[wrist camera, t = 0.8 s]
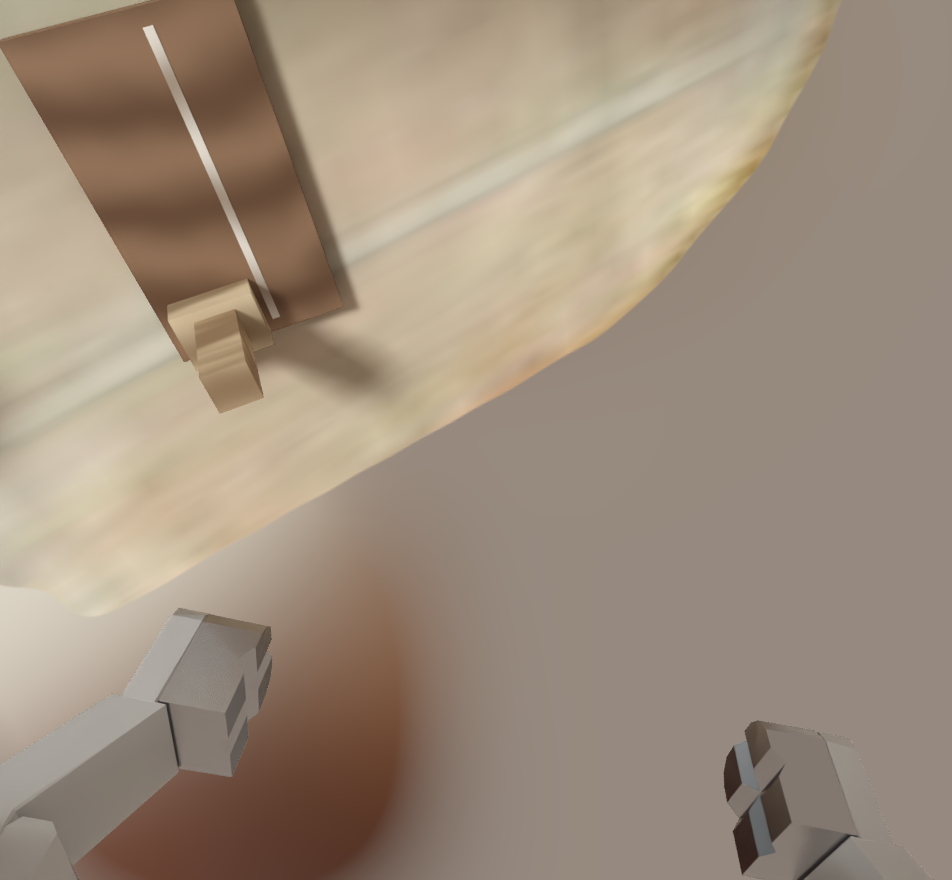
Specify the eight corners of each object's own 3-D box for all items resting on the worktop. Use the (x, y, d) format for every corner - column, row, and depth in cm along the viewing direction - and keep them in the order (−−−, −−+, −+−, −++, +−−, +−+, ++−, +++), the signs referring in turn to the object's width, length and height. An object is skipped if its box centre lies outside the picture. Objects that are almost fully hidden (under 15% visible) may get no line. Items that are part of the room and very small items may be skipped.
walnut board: (2, 39, 38) (-3, 43, 36) (225, -20, 40) (228, -17, 38) (183, 352, 52) (184, 362, 51) (339, 298, 54) (343, 306, 53)
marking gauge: (167, 305, 48) (170, 377, 41) (247, 278, 49) (263, 344, 42) (195, 354, 51) (202, 429, 44) (270, 328, 52) (289, 398, 45)
